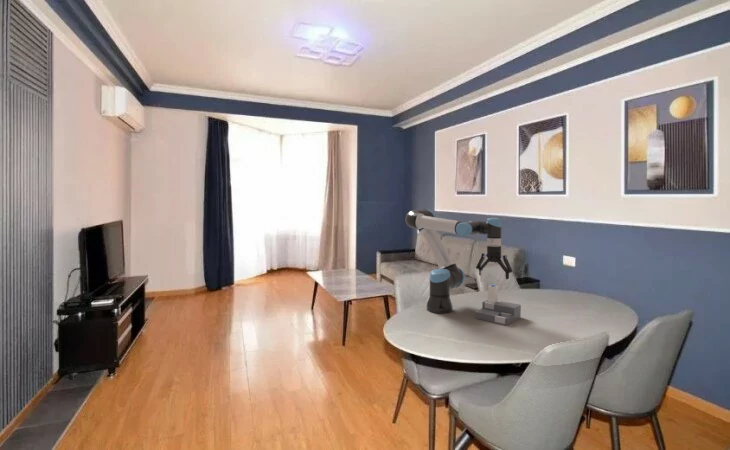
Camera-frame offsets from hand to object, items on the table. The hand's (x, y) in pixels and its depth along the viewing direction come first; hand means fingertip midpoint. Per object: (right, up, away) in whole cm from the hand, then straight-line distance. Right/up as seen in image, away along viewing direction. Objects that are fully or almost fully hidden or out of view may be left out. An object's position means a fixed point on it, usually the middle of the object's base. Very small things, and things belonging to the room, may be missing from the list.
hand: (493, 283), depth 210 cm
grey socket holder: (0, -18, -5) cm, 19 cm away
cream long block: (0, -14, +1) cm, 14 cm away
